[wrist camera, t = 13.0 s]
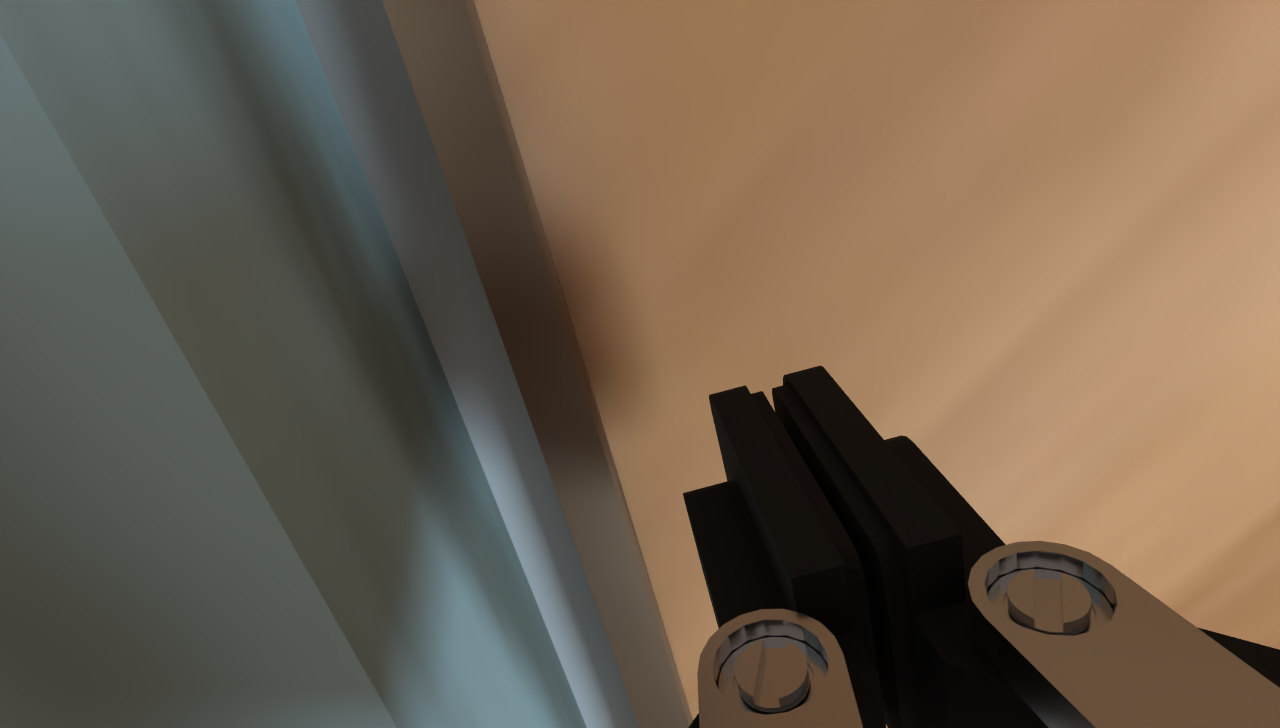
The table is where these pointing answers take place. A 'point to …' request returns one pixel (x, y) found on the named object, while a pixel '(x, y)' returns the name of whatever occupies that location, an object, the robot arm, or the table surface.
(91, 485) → the teal rectangular block
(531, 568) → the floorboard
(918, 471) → the robot arm
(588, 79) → the table surface
